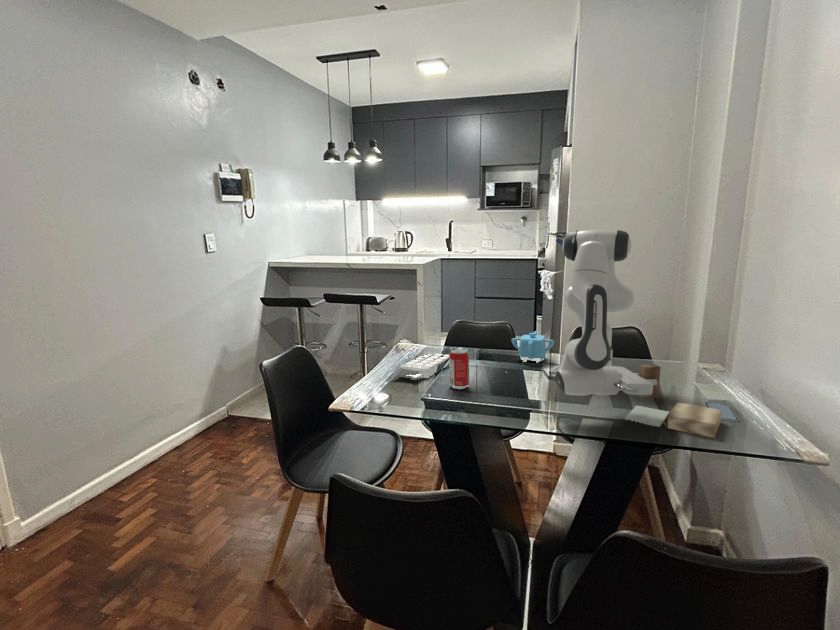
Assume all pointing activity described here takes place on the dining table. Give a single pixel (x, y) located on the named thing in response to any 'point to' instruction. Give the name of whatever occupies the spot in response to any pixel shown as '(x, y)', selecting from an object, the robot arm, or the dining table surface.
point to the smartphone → (723, 411)
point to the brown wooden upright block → (651, 372)
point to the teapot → (532, 345)
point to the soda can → (459, 368)
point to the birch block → (695, 419)
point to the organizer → (424, 364)
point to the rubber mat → (647, 416)
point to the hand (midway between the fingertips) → (652, 379)
